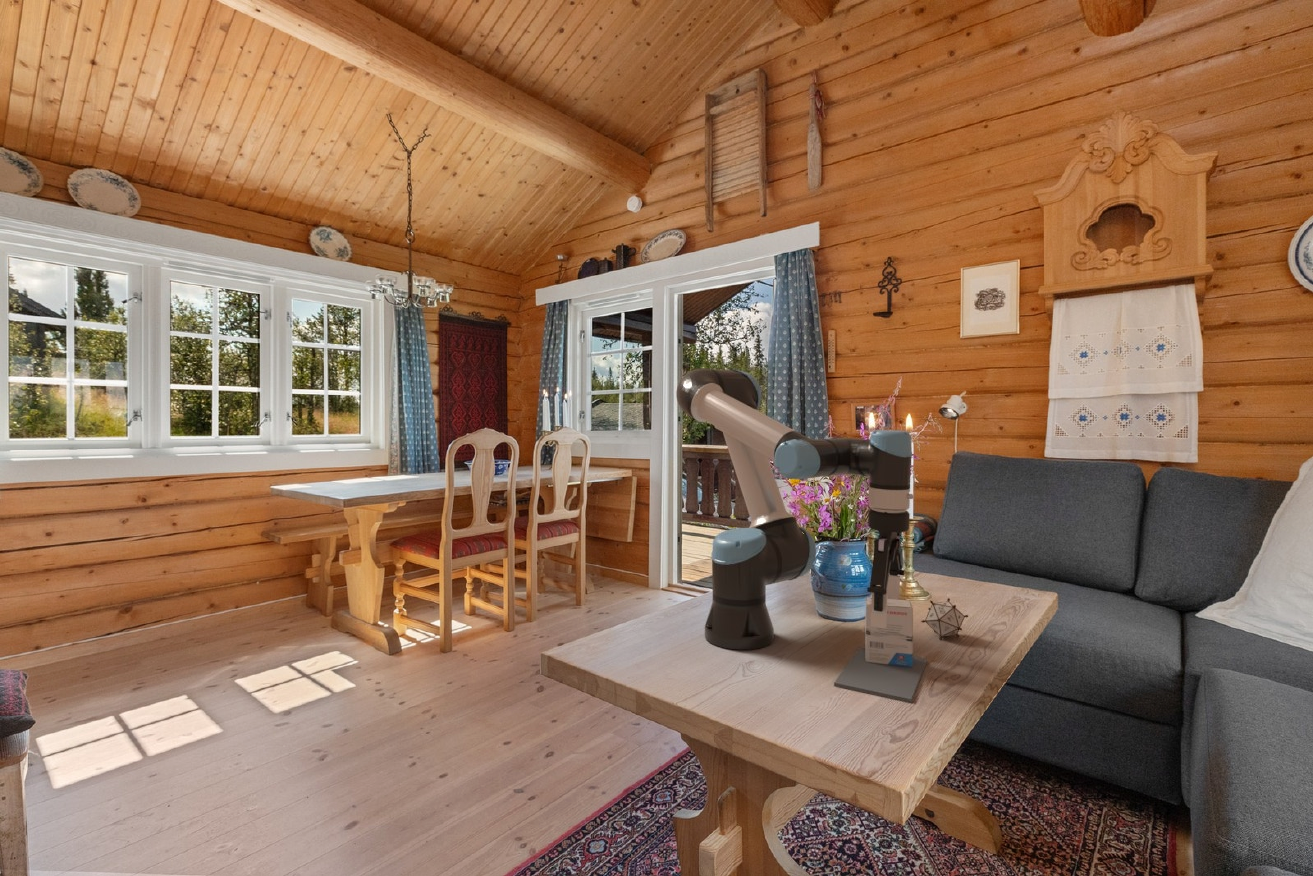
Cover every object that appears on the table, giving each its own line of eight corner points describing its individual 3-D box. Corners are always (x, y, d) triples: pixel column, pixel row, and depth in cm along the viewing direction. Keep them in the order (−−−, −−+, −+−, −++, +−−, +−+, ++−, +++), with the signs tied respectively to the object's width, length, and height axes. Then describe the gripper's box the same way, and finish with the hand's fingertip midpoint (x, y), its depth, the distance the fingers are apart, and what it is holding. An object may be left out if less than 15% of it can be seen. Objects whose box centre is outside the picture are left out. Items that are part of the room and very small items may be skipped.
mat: (834, 686, 110) (834, 682, 110) (859, 649, 127) (859, 646, 127) (911, 702, 103) (911, 699, 103) (926, 662, 120) (926, 659, 120)
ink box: (911, 658, 121) (911, 599, 120) (913, 668, 116) (913, 607, 115) (865, 653, 123) (865, 596, 123) (865, 663, 119) (865, 603, 118)
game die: (953, 656, 133) (976, 628, 127) (915, 639, 134) (936, 612, 128) (952, 624, 140) (974, 597, 134) (915, 609, 141) (935, 582, 135)
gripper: (898, 521, 106) (894, 640, 108) (918, 502, 128) (915, 602, 129) (854, 517, 110) (850, 632, 111) (881, 499, 132) (878, 596, 133)
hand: (885, 616), depth 120 cm, fingers open, 13 cm apart
